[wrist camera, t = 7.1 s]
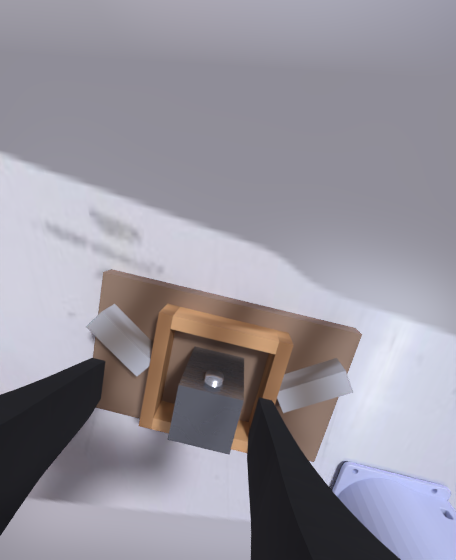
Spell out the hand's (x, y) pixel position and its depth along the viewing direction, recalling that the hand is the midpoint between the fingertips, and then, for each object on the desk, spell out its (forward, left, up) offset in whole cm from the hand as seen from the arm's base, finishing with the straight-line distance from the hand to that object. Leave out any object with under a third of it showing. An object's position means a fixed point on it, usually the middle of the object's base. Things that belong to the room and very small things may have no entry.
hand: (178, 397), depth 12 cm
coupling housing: (-2, +4, -10) cm, 10 cm away
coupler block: (-2, +4, -8) cm, 9 cm away
